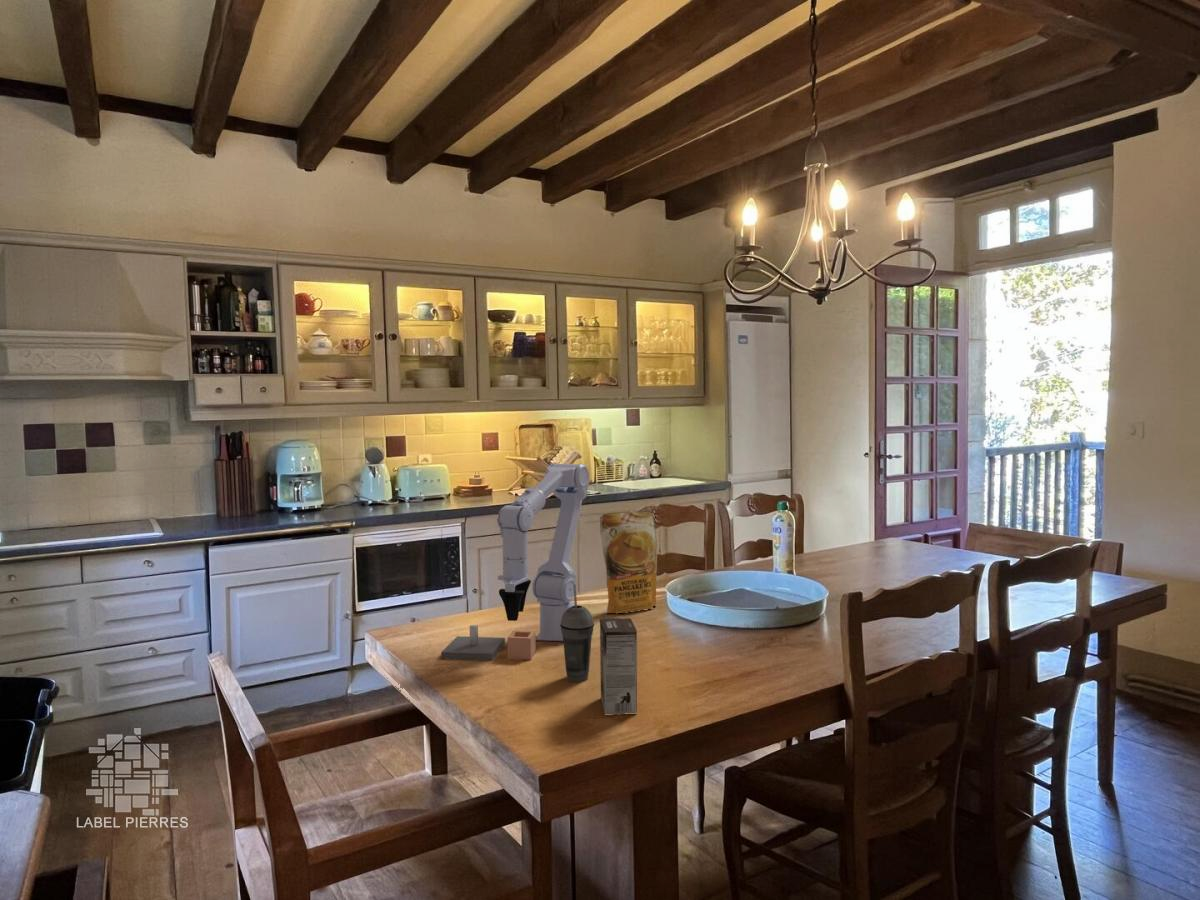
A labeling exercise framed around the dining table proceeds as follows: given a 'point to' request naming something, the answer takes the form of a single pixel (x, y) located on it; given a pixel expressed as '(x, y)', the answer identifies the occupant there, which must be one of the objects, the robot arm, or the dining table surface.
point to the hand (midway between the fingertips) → (515, 615)
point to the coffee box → (618, 665)
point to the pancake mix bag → (629, 560)
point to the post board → (473, 646)
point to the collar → (521, 645)
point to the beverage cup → (577, 640)
